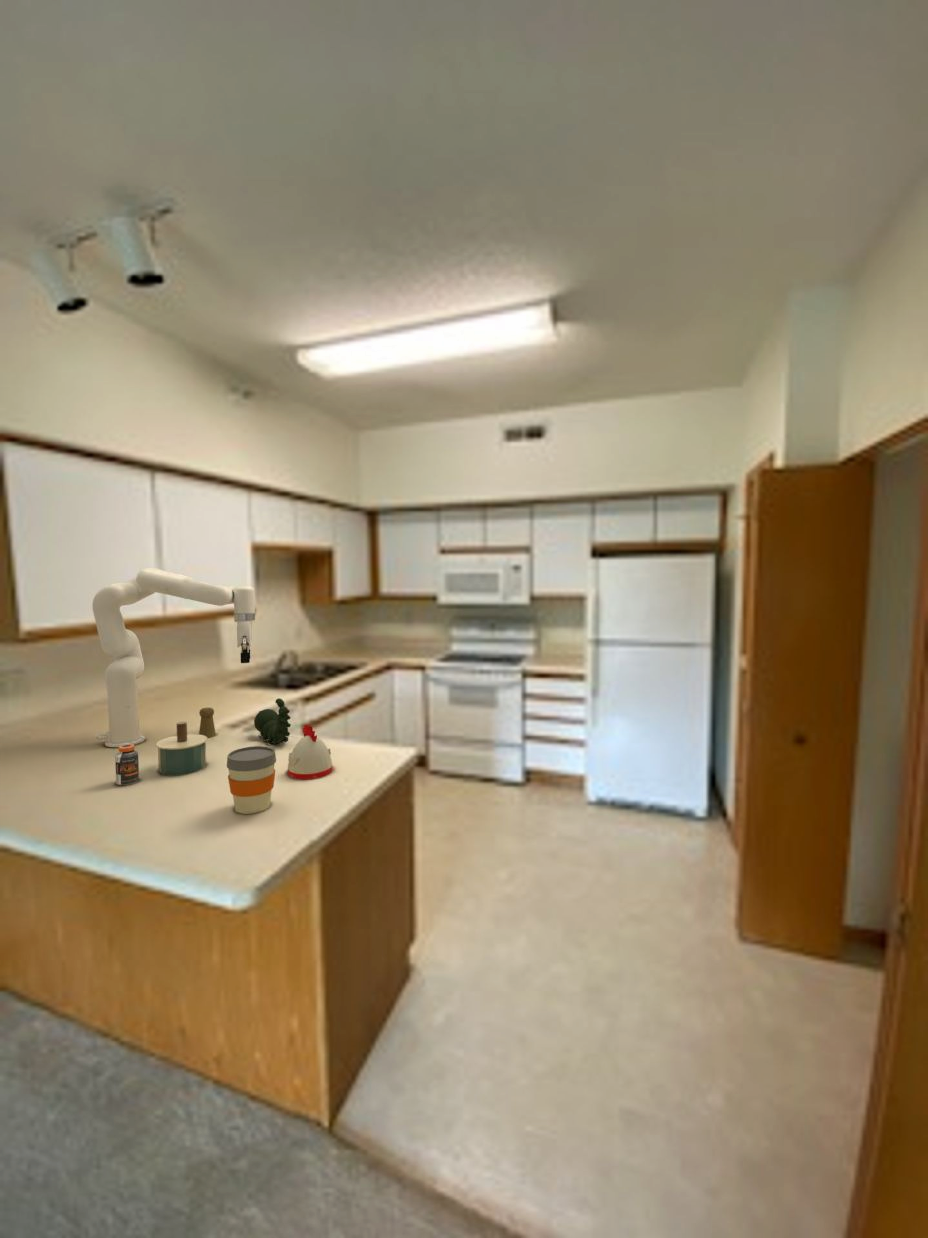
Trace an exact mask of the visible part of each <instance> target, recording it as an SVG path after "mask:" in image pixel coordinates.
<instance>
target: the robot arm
mask: <svg viewBox="0 0 928 1238" xmlns="http://www.w3.org/2000/svg"><path fill="white" fill-rule="evenodd" d="M255 592H256V591H255V588H254V587H253V586H248V585H247V586H246V585H239V586H230V585H219V584H218V585H217V584H212V583H209V582H206V581H205V582H204V581H201V580H196V579H194V578H193V577H191V576H188V575H184V574H179V573H175V572H170V571H165V570H162V569H161V568H156V567H145V568H142V569H140V570H139V571H138V572H137V574H136V577H133V578H132V579H129V580H127V581H124V582H114V583H110V584H107V585H105V586H103V587H102V588H100V589H99V590H98V591H97V592H96V593H95V595H94V597H93V599H92V604H91V605H92V612H93V616H94V617H93V618H94V620H95V625H96V630H97V634H98V638H99V642H100V647H101V649H102V652H103V653H104V654H105V655H106V656H109V657H113V658H114V660H113V661H112V662H110V664H109V665H108V666H107V667H106V669H105V671H104V681H105V687H106V693H107V710H108V731H107V732H106V733H96V734H95V739H96V740H98V741H102V740H105V741H104V746H105V747H108V748H119V746H122V745H126V744H133V745H134V746H135V745H139V744H141V743H143V742H145V739H146V738H145V736H144V735H142V734H141V733H140V708H139V692H138V691H139V690H138V685H137V679H139V678H140V677H141V676H142V675H143V674H144V672H145V661H144V656H143V653H142V649H141V644H140V640H139V638H138V636H137V635H136V633H135V632H133V631H132V630H131V629H127V628H126V626H125V625H126V624H125V620H124V617H123V614H122V613H121V607H122V606H130V605H133V604H136V603H138V602H140V601H142V600H143V599H145V598H148V597H149V596H151V595H154V594H156V593H157V594H163V595H167V596H172V597H176V598H181V599H184V600H190V601H195V602H199V603H203V604H208V605H213V606H218V607H222V606H223V607H224V606H226V605H233V617H234V619H233V621H234V623H236V647H237V648H240V653H239V654H240V664H249V663H250V662H251V649H250V647H251V646H252V640H253V623H255V622H256V599H255V598H256V597H255V596H256V595H255V594H256V593H255Z"/></svg>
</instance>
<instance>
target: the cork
mask: <svg viewBox="0 0 928 1238" xmlns="http://www.w3.org/2000/svg"><path fill="white" fill-rule="evenodd" d="M198 712H199V716H200V721H199V722H200V723H199V732H198V735H204V736H206V737H207V739H208V738H213V737H215V736H216V735H217V734H216V733H217V732H216V728H215V723H214V722H215V721H214V714H215V710H214V708H213V707H202V708H201V709H199V711H198Z"/></svg>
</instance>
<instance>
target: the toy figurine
mask: <svg viewBox="0 0 928 1238" xmlns="http://www.w3.org/2000/svg"><path fill="white" fill-rule="evenodd" d="M274 702H275V704H276V705H277V707H278V711H277V712H276V711H275V710H274V709H271V708H265V709H262V710H259V711H258V712H257V713H256V715H255V717H254V719H253V725H254V728H255V730H256V731H258V733H259V734H260V736H261V739H262V740H263V741H266V742H267V744H268V745H272V744H274V745H277V744H279V743H281V742H284V743H287V742H289V736H290V735H291V733H290V731H289V728H291V726H292V724H291V723H290V722H289V720H290V719H291V716H290V715H289V714H290V712H291V711H290V709H288V706H287V707H286V706H285V705H286V704H285V701H284V700H283V699H282V698H276V699H275V701H274Z"/></svg>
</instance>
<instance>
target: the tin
mask: <svg viewBox="0 0 928 1238" xmlns="http://www.w3.org/2000/svg"><path fill="white" fill-rule="evenodd" d="M206 744H207V741H206V742H205V743H203V744H201V745H198V746H194V747H190V748H185V749H175V750H167V749H160V748H158V747H157V758H158V759H157V761H158V772H159V773H160V774H161V775H164V776H182V775H187V774H192V773H196V772H198V771H200V770H203V769H204V768H205V767H206V766H207V745H206Z"/></svg>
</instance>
